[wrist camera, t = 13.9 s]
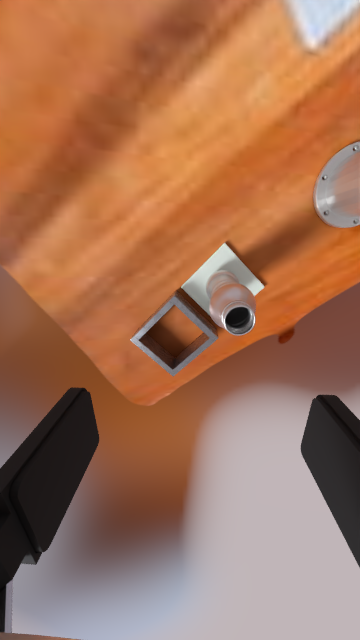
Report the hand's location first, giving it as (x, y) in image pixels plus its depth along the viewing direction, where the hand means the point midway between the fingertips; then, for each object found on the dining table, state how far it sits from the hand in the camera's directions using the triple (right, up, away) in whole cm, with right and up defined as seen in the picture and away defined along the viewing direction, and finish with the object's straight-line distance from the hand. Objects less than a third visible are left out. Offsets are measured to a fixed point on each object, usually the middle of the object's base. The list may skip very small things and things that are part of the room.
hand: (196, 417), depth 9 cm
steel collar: (-2, +2, +38) cm, 38 cm away
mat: (+8, +11, +34) cm, 37 cm away
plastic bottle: (+8, +11, +33) cm, 36 cm away
